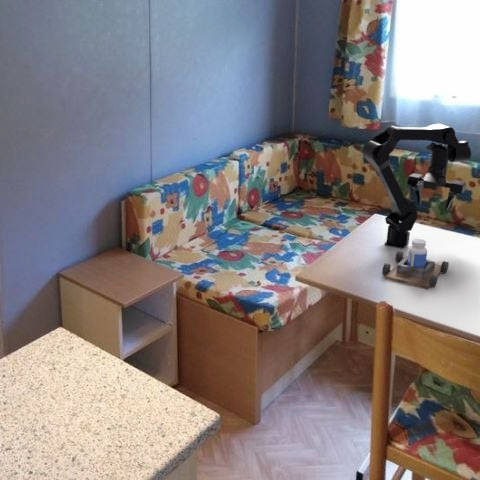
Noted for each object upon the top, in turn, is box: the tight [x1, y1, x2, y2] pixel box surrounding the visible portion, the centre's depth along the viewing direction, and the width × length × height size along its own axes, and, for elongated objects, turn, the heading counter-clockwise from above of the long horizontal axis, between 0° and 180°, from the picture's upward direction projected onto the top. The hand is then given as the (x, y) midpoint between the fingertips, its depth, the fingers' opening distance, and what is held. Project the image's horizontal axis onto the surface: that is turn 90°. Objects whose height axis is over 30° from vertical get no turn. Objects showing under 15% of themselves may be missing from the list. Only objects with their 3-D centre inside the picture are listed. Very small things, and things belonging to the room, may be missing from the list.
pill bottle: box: [407, 238, 428, 269], centre depth 205 cm, size 6×5×10 cm
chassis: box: [381, 250, 450, 290], centre depth 207 cm, size 16×18×4 cm
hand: (432, 207), depth 230 cm, fingers open, 9 cm apart
